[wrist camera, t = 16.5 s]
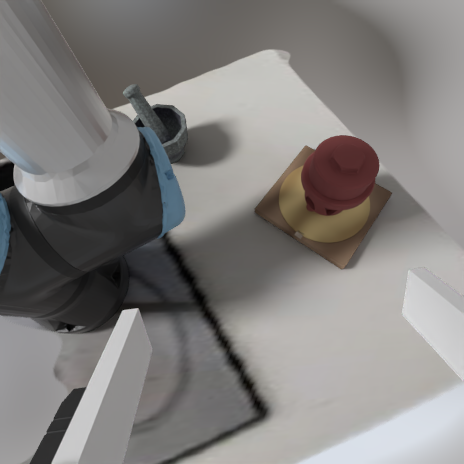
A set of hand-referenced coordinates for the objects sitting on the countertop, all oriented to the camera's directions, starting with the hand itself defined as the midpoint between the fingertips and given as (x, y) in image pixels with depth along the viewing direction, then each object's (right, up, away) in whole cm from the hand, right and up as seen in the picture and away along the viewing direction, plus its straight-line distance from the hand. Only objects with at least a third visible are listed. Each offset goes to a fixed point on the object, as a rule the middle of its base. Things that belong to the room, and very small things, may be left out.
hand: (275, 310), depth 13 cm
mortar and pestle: (-15, +20, +41) cm, 48 cm away
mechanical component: (+13, +9, +33) cm, 36 cm away
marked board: (+13, +9, +34) cm, 38 cm away
